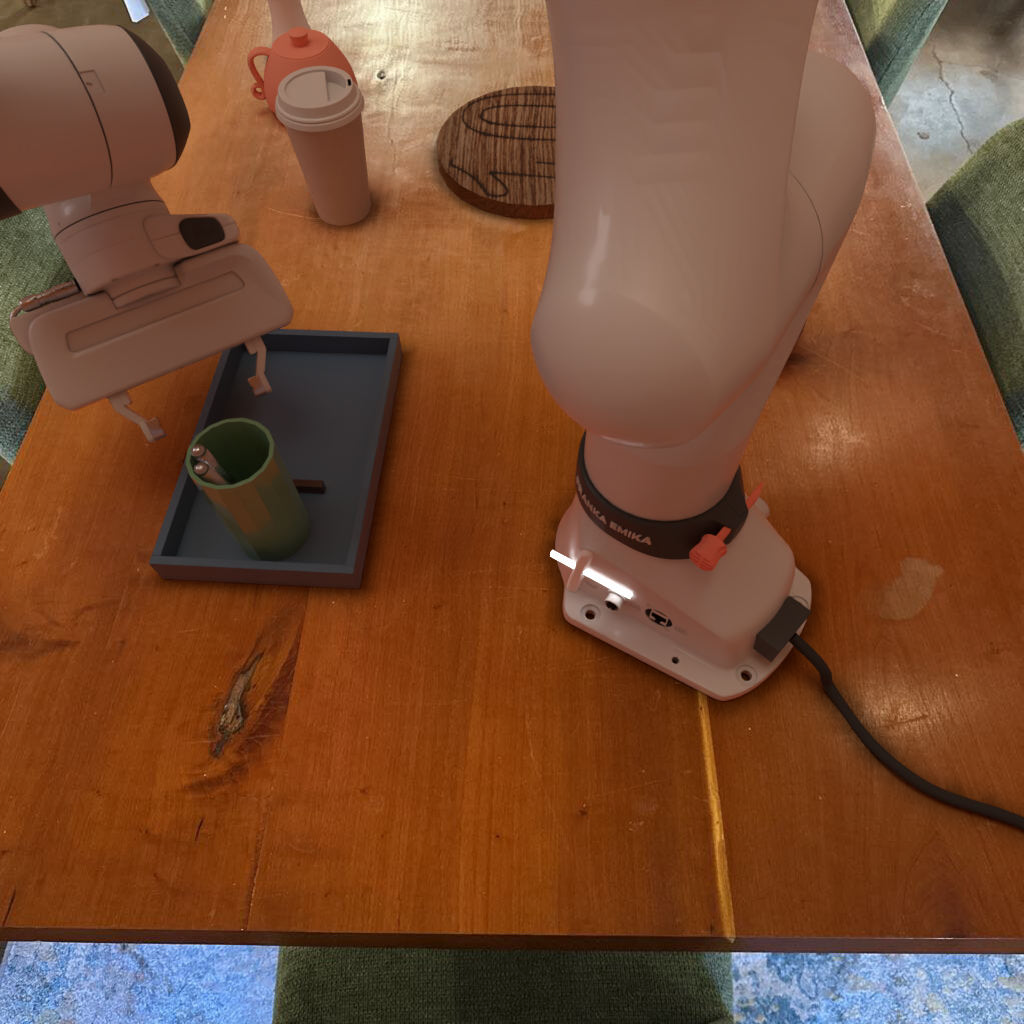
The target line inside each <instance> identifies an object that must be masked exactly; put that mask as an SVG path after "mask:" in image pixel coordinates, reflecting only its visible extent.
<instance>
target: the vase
mask: <svg viewBox="0 0 1024 1024" xmlns="http://www.w3.org/2000/svg"><path fill="white" fill-rule="evenodd" d="M266 1H267V4H268V8H269V13H270V20H271V29H272V33H271V34H272V37H271V38H272V39H271V45H270V47H269V48H270V49H271V47H272V44H273V42H274V41H275V40H276V39H277V38H278V37H279V36H281V35H282V34H284V33H287V32H288V31H289V30H290V29H292V28H294V27H304V28H306V29H312V28H311V26H310V24H309V22H308V19H307V17H306V14H305V11H304V9H303V6H302V2H301V0H266Z"/></svg>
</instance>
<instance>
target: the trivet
mask: <svg viewBox="0 0 1024 1024" xmlns="http://www.w3.org/2000/svg"><path fill="white" fill-rule="evenodd" d="M435 144H436V151H437V152H436V153H437V160H438V163H437V164H438V171H439V173H440V175H441V177H442V179H443V180H444V183H445V184H446V186H447V187H448V188H449V189H450V190H451V191H452V192H454V193H455V194H456V195H457V196H458V197H459V198H460V199H461V200H462V201H464V202H466V203H468V204H469V205H472V206H474V207H476V208H478V209H479V210H482V211H485V212H488V213H492V214H495V215H499V216H502V217H506V218H517V219H527V220H539V219H551V218H553V219H554V204H555V165H556V98H555V86H546V85H525V86H524V85H523V86H512V87H506V88H503V89H499V90H494V91H490V92H487V93H485V94H483V95H480V96H478V97H476V98H473V99H470V100H468V101H467V102H466V103H464V104H462V106H460V107H459V108H457V109H455V111H453V112H452V113H451V114H450V115H449V117H448V118H447V119H446V120H445V121H444V123H443V124H442V125H441V127H440V130H439V132H438V135H437V139H436V141H435Z"/></svg>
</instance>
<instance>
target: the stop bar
mask: <svg viewBox="0 0 1024 1024" xmlns="http://www.w3.org/2000/svg"><path fill="white" fill-rule="evenodd" d="M292 480H293V482H294V484H295V486H296V488H297V490H298V493H316V494H324V493H325V489H326V486H325V484H324V481H323V480H303V479H292Z"/></svg>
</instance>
